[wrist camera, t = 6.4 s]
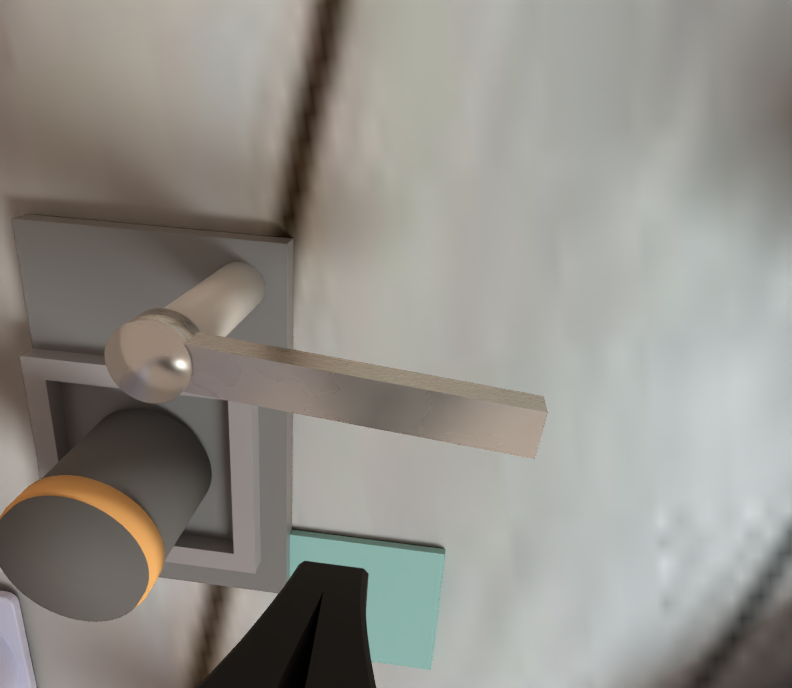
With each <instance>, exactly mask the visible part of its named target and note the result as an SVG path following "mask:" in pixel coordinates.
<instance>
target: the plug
mask: <svg viewBox="0 0 792 688" xmlns="http://www.w3.org/2000/svg"><path fill="white" fill-rule="evenodd" d="M211 479H212V470H211V464H210V460H209V458H208V455H207V453H206V451H205V449H204V447H203V446H202V444H201V443H200V441H199V440H198V439H197V438H196V437H195V435H194V434H193V433H192V432H191V431H189V430H188V429H187V428H186V427H185V426H183V425H182V424H181V423H179V422H178V421H176V420H174V419H173V418H171V417H169V416H166V415H164V414H162V413H159V412H156V411H152V410H147V409H139V408H130V409H123V410H119V411H116V412H113V413H111V414H109V415H107V416H106V417H104V418H103V419H102V420H101V421H100V422H99V423H98V424H97V425H96V426H95V427H94V428H93V429H92V430H91V431H90V432H89V433H88V434H87V435H86V436H85V437H84V438H83V439H82V440H80V441H79V442H78V443H77V444H76V445H75V446H74V447H73V448H72V449H71V450H70V451H69V452H68V453H67V454H66V455H65V456H64V457H63V458H62V459H61V460H60V461H59V462H58V463H57V464H56V465H55V466H54V467H53V468H52V469H51V470H50V471H49V472H48V473H47V474H46V475H45V476H44V477H43V478H42V479H41V480H38V481H36V482H34V483H33V484H31V485H30V486H28V487H27V488H26V489H25V490H24V491H23V492H22V493H21V494H20V495H19V496H18V497H17V498H16V499H15V500H14V501H13V502H12V503H11V504H10V505H9V506H8V507H7V508H6V509H5V510H4V512H3V513H2V514H1V517H0V567H1V568H2V570H3V572H4V573H5V575H6V576H7V577H8V579H9V580H10V581H11V582H12V583H13V584H14V585H15V586H16V588H17V589H19V590H20V591H21V592H22V593H23V594H24V595H26V596H27V597H28V598H30V599H31V600H32V601H34V602H35V603H37V604H39V605H40V606H42V607H44V608H46V609H48V610H50V611H52V612H54V613H57V614H59V615H62V616H65V617H68V618H72V619H76V620H82V621H94V622H98V621H108V620H113V619H116V618H120V617H122V616H124V615H126V614H127V613H129V612H130V611H132V610H133V609H134V608H135V607H136V606H138V605H139V604H140V603H141V602H142V601H143V600H144V599H145V598H146V596H147V595H148V593H149V591H150V590H151V588H152V587H153V585H154V583H155V582H156V580H157V578H158V577H159V575H160V574H161V571H162V569H163V566H164V561H165V559H166V558H167V556H168V555H169V553H170V551H171V550H172V548H173V547H174V545H175V543H176V542H177V540H178V538H179V537H180V535H181V534H182V532H183V530H184V529H185V527H186V526H187V524H188V522H189V521H190V519H191V518H192V516H193V514H194V513H195V511H196V510H197V508H198V506H199V505H200V503H201V501H202V500H203V498H204V497H205V495H206V493H207V492H208V490H209V487H210V484H211Z"/></svg>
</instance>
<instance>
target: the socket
mask: <svg viewBox="0 0 792 688" xmlns="http://www.w3.org/2000/svg"><path fill="white" fill-rule="evenodd" d="M12 225H13V231H14V237H15V243H16V249H17V255H18V261H19V267H20V273H21V279H22V285H23V292H24V298H25V304H26V310H27V316H28V322H29V328H30V334H31V340H32V346H33V348H32V349H31V350H29V351H27V352H25V353H24V354H22V355H20V356H19V357H20V363H21V368H22V374H23V380H24V386H25V391H26V397H27V403H28V409H29V414H30V420H31V426H32V432H33V437H34V443H35V449H36V455H37V460H38V466H39V472H40V478H41V479H42V478H43V477H44V476H45V475H46V474H47V473H48V472H49V471H50V470H51V469H52V468H53V467H54V466H55V465H56V464H57V463H58V462H59V461H60V460H61V459H62V458H63V457H64V456H65V455H66V454H67V453H68V452H69V451H70V450H71V449H72V448H73V447H74V446H75V445H76V444H77V443H78V442H79V441H80V440H82V439H83V438H84V437H85V436H86V435H87V434H88V433H89V432H90V431H91V430H92V429H93V428H94V427H95V426H96V425H97V424H98V423H99V422H100V421H101V420H102V419H103V418H104V417H106V416H107V415H109V414H111V413H113V412H116V411H119V410H123V409H130V408H139V409H147V410H152V411H156V412H159V413H162V414H164V415H166V416H169V417H171V418H173V419H174V420H176V421H178V422H179V423H181V424H182V425H183V426H185V427H186V428H187V429H188V430H189V431H191V432H192V433H193V434H194V435H195V437H196V438H197V439H198V440H199V441H200V443H201V444H202V446H203V447H204V449H205V451H206V453H207V455H208V458H209V460H210V464H211V470H212V479H211V484H210V487H209V490H208V492H207V493H206V495H205V497H204V498H203V500H202V501H201V503H200V505H199V506H198V508H197V510H196V511H195V513H194V514H193V516H192V518H191V519H190V521H189V522H188V524H187V526H186V527H185V529H184V530H183V532H182V534H181V535H180V537H179V538H178V540H177V542H176V543H175V545H174V547H173V548H172V550H171V551H170V553H169V555H168V556H167V558H166V559H165V561H164V566H163V569H162V571H161V574H160V575H159V577H162V578H169V579H176V580H184V581H191V582H199V583H206V584H213V585H221V586H228V587H236V588H243V589H251V590H258V591H265V592H273V593H279V592H280V591H281V590H282V588H283V587H284V586H285V584H286V583H287V581H288V580H289V579H290V533H291V531H292V427H293V413H291V412H286V411H281V410H275V409H270V408H265V407H260V406H254V405H249V404H244V403H239V402H233V401H228V400H223V399H218V398H212V397H207V396H202V395H197V394H191V393H186V392H182V393H181V394H180V395H179V396H177V397H176V398H174V399H173V400H170V401H168V402H164V403H147V402H143V401H140V400H137V399H135V398H133V397H131V396H129V395H128V394H126V393H125V392H124V391H122V390H121V389H120V388H119V387H118V386H117V385H116V383H115V382H114V381H113V379H112V378H111V376H110V374H109V372H108V370H107V367H106V363H105V347H106V343H107V341H108V339H109V337H110V336H111V334H112V333H113V332H114V331H115V330H116V329H118V328H119V327H121V326H122V325H124V324H125V323H127V322H128V321H130V320H131V319H133V318H134V317H136V316H137V315H139V314H141V313H142V312H144V311H146V310H149V309H154V308H166V309H171V310H174V311H177V312H179V313H181V314H183V315H184V316H186V317H187V318H189V319H190V320H191V321H192V322H193V323H194V324H195V325H196V326H197V327H198V329H199V330H200V332H201V333H206V334H212V335H217V336H222V337H228V338H233V339H239V340H244V341H249V342H255V343H260V344H265V345H271V346H276V347H282V348H287V349H292V350H293V257H294V239H293V238H283V237H272V236H261V235H250V234H239V233H228V232H217V231H206V230H195V229H184V228H174V227H163V226H152V225H141V224H130V223H119V222H108V221H97V220H86V219H75V218H64V217H54V216H43V215H32V214H27V215H23V216H19V217H15V218H12Z"/></svg>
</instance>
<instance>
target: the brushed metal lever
mask: <svg viewBox="0 0 792 688" xmlns="http://www.w3.org/2000/svg"><path fill="white" fill-rule="evenodd" d="M105 363H106V367H107V370H108V372H109V374H110V376H111V378H112V379H113V381H114V382H115V383H116V385H117V386H118V387H119V388H120V389H121V390H122V391H124V392H125V393H126V394H128V395H129V396H131V397H133V398H135V399H137V400H140V401H143V402H147V403H164V402H168V401H170V400H173V399H174V398H176V397H177V396H179V395H180V394H181V393H182V392H186V393H191V394H197V395H202V396H207V397H212V398H218V399H223V400H228V401H233V402H239V403H244V404H249V405H254V406H260V407H265V408H270V409H275V410H281V411H286V412H291V413H296V414H302V415H307V416H312V417H317V418H323V419H328V420H333V421H338V422H344V423H349V424H354V425H359V426H365V427H370V428H375V429H380V430H386V431H391V432H396V433H402V434H407V435H412V436H417V437H423V438H428V439H433V440H438V441H444V442H449V443H454V444H459V445H465V446H470V447H475V448H480V449H486V450H491V451H496V452H501V453H507V454H512V455H517V456H522V457H528V458H533V459H535V456H536V452H537V449H538V445H539V442H540V438H541V435H542V431H543V427H544V424H545V420H546V417H547V413H548V412H547V408H546V404H545V400H544V396H540V395H534V394H529V393H524V392H518V391H513V390H507V389H502V388H497V387H491V386H486V385H481V384H475V383H470V382H464V381H459V380H454V379H448V378H443V377H438V376H432V375H427V374H421V373H416V372H411V371H405V370H400V369H395V368H389V367H384V366H378V365H373V364H368V363H362V362H357V361H351V360H346V359H341V358H335V357H330V356H325V355H319V354H314V353H308V352H303V351H298V350H292V349H287V348H282V347H276V346H271V345H265V344H260V343H255V342H249V341H244V340H239V339H233V338H228V337H222V336H217V335H212V334H206V333H201V332H200V330H199V329H198V327H197V326H196V325H195V324H194V323H193V322H192V321H191V320H190V319H189V318H187V317H186V316H184V315H183V314H181V313H179V312H177V311H174V310H171V309H166V308H154V309H149V310H146V311H144V312H142V313H141V314H139V315H137V316H136V317H134V318H133V319H131V320H130V321H128V322H127V323H125V324H124V325H122V326H121V327H119V328H118V329H116V330H115V331H114V332H113V333H112V334H111V336H110V337H109V339H108V341H107V343H106V347H105Z"/></svg>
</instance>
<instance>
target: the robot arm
mask: <svg viewBox="0 0 792 688" xmlns="http://www.w3.org/2000/svg"><path fill="white" fill-rule="evenodd" d="M368 576H369V574H368V573H367V571H366V570H365V569H364V568H357V567H350V566H342V565H334V564H326V563H319V562H311V561H303V562H302V563H300V564H299V565H298V566H297V568H296V570H295V571H294V573H293V574H292V576H291V577H290V579H289V580H288V581H287V583H286V584H285V586H284V587H283V588H282V590H281V591H280V592H279V594H278V595H277V596H276V598H275V599H274V600H273V602H272V603H271V604H270V606H269V607H268V608H267V609H266V611H265V612H264V613H263V614H262V616H261V617H260V618H259V619H258V620H257V622H256V623H255V624H254V625H253V626H252V628H251V629H250V630H249V631H248V632H247V634H246V635H245V636H244V637H243V638H242V640H241V641H240V642H239V643H238V644H237V645H236V646H235V647H234V648H233V650H232V651H231V652H230V653H229V654H228V655H227V656H226V657H225V658H224V659H223V660H222V661H221V663H220V664H219V665H218V666H217V667H216V668H215V669H214V670H213V671H212V672H211V673H210V674H209V675H208V676H207V677H206V678H205V679H204V680H203V681H202V682H201V683H200V684H199V685H198V686H197V687H196V688H376V685H375V680H374V674H373V669H372V663H371V656H370V648H369V641H368V633H367V622H366V605H367V590H368ZM0 688H37V686H36V681H35V677H34V672H33V667H32V662H31V657H30V653H29V648H28V643H27V638H26V633H25V628H24V624H23V619H22V614H21V609H20V604H19V601H18V598H17V597H16V596H15V595H14V594H12V593H11V592H7V591H0Z"/></svg>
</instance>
